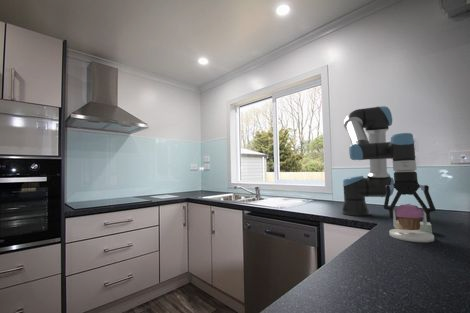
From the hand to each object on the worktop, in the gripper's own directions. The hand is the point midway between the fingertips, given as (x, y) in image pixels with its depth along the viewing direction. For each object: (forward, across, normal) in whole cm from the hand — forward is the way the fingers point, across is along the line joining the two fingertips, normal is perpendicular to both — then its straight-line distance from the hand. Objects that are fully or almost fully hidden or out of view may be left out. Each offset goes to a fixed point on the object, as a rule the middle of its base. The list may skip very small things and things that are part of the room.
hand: (410, 228), depth 89 cm
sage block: (+4, +6, +10) cm, 12 cm away
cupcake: (+1, 0, 0) cm, 1 cm away
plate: (+3, 0, 0) cm, 3 cm away
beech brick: (+4, -2, +10) cm, 11 cm away
